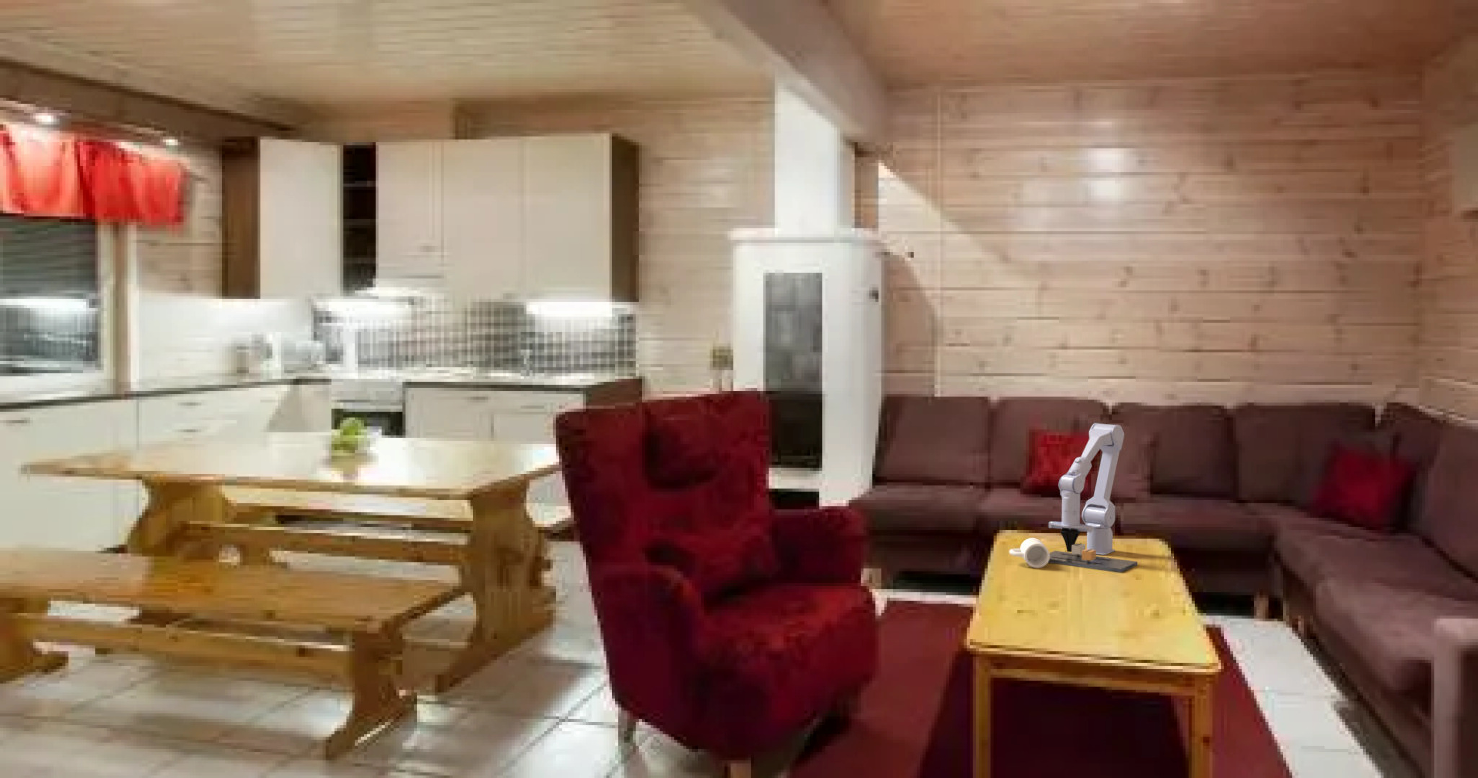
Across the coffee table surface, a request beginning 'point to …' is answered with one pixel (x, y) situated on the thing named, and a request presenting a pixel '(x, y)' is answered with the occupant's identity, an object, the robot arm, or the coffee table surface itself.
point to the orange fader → (1088, 554)
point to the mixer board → (1091, 562)
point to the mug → (1032, 553)
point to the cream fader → (1078, 548)
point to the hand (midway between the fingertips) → (1070, 551)
